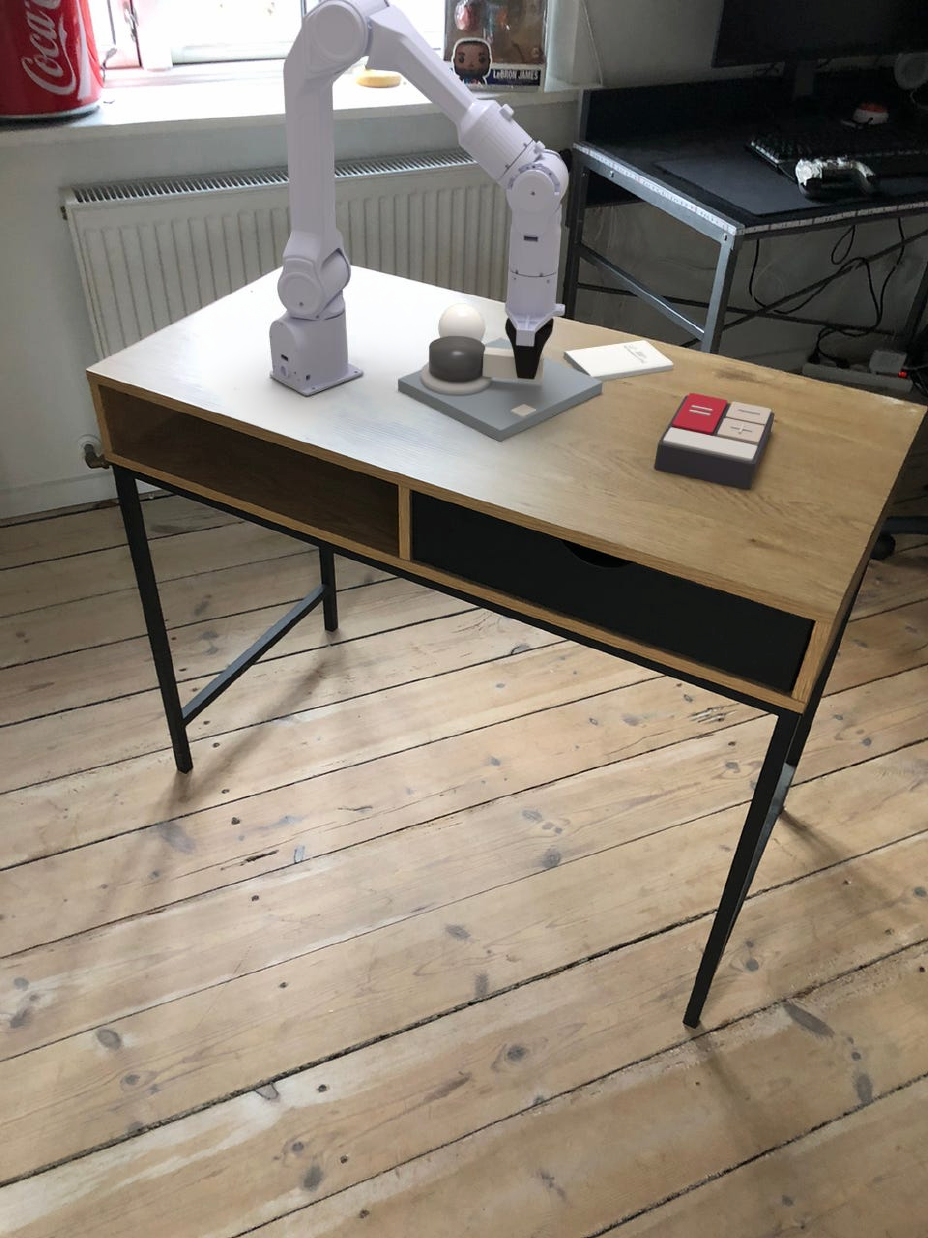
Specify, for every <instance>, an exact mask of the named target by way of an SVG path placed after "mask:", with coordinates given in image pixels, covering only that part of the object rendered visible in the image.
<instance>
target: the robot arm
mask: <svg viewBox="0 0 928 1238" xmlns="http://www.w3.org/2000/svg"><path fill="white" fill-rule="evenodd" d="M365 57H368V58H367V60H366V64H365V69H366V70H373V71H385V72H395V73H398V74H400V75H401V76H402V77H404V78H405V79H406V80H407V81H408V82H409V83H410V84H411V85H412V86H413V87H414V88H415V89H417V90H418V91H419V92H420V93H421V94H422V95H423V96H424V97H425V98H426V99H427V100H428V101H430V102H431V104H433V105H434V106H435V107H436V108H437V109H439V110H440V111H441V112H442V113H443V114H444V115H445V116H446V117H447V118H448V119H450V121H451V122H452V123H454V124H455V126H456V131H457V141H458V145H460V146H461V148H462V149H463V150H464V151H465V152H466V153H467V154H469V156H470V157H471V158H472V159H473V160H474V161H475V162H476V163H477V164H478V165H479V166H480V167H481V168H482V169H483V170H484V171H485V172H486V173H487V174H488V175H489V176H490V177H491V179H493V180H494V181H495V182H496V183H497V184H498V185H499V186H500V187H502V188H504V189H505V195H506V200H507V204H508V206H509V208H510V209H511V211H512V214H511V215H512V216H511V226H510V231H509V232H510V233H509V234H510V235H509V237H510V238H509V251H508V252H509V253H508V270H507V271H508V273H507V288H506V289H507V290H506V301H505V303H504V313H505V314H506V316H507V318H506V320H505V325H504V330H505V333H506V336H507V338H508V341H510V342H511V345H512V348H513V352H514V359H515V367H516V374H517V378H520V379H533V380H534V378H535V376H536V373H537V369H538V365H539V360H540V356H541V353H543V350H544V347H545V345H546V344H547V342H548V340H549V339H550V337H551V335H552V333H553V329H554V321H555V319H554V318H555V317H562V316H564V315H565V311H566V309H565V308H566V305H565V304H562V303H556V298H557V288H558V287H557V285H558V276H559V275H558V273H559V263H560V262H559V261H560V251H561V250H560V249H561V240H562V239H561V237H562V227H561V223H562V218H563V217H562V207H563V204H562V203H561V200H562V199H563V197H564V196H565V194H566V192H567V189H568V186H569V172H568V168H567V165H566V164H565V162H564V161H563V160H562V157H561V155H560V154H559V153H558V152H557V151H555V150H551V149H549V148H548V149H546V145H544V143H543V142H541V141H540V140H538V141H537V142H536V140H534V139H533V138H532V137H531V136H530V135H529V134H528V133H527V131H525V130H524V129H523V128H522V127H521V126H520V125H519V123H518V122H516V121H515V120H514V118H513V115H514V114H515V111H514V110H513V109H512V108H511V107H510V106H509V104H507V103H505V104H504V105H502V106H501V105H500V104H499V103H498V102H497V101H496V100H495V99H487V100H486V99H479V98H477V97H476V96H475V95H474V94H473V92H472V91H471V90H470V89H469V88H468V87H467V86H466V85H465V84H464V83H463V81H462V80H461V79H460V78H459V76H458V75H457V74H456V73H455V72H454V71H453V70H452V69H451V68H450V67H449V65H448V64H447V63H446V62H445V61H444V59H443V58H442V57H441V56H440V55H439V54H438V53H437V51H436V50H434V48H433V47H432V46H431V45H430V44H429V43H428V42H427V40H426V39H425V38H424V37H423V36H422V35H421V34H420V32H419V31H418V30H417V29H416V28H415V26H414V25H413V24H412V22H411V21H410V19H409V18H408V17H407V15H406V13H405V12H404V11H403V10H402V9H400V8H399V7H397V5H395V4H392V5H391V3H390V1H389V0H321V1H320V2H319V3H317V4H316V5H314V7H312V8H311V9H310V10H309V11H308V12H306V13H305V14H304V15H303V16H302V18H301V27H300V30H299V32H298V33H297V36H296V37H295V40H294V41H293V44H292V45H291V47H290V50H289V52H288V53H287V56H286V58H285V59H284V62H283V69H282V75H283V92H284V115H285V132H286V149H287V152H286V153H287V154H286V155H287V168H288V169H287V171H288V186H289V187H288V189H289V209H290V228H291V229H290V230H291V231H290V235H289V237H288V240H287V243H286V244H285V245H286V246H285V248H284V251H283V255H282V262H283V263H282V270H281V273H280V275H279V278H278V281H277V286H276V288H277V296H278V298H279V300H280V302H281V304H282V306H283V307H284V308H285V309H286V311H285V313H283V314H282V315H281V316H280V317H279V318H277V319H275V320H273V321H272V322H271V323H270V326H269V330H268V332H269V333H268V335H269V337H268V338H269V347H270V355H271V357H270V358H271V366H272V370H271V371H270V372H269V377H271V378H273V379H275V380H277V381H278V382H280V383H282V384H284V385H286V386H287V387H289V388H291V389H293V390H295V391H296V392H297V393H300V394H302V395H304V396H310V395H313V394H316V393H318V392H321V391H324V390H327V389H329V388H331V387H334V386H337V385H339V384H341V383H344V382H347V381H350V380H353V379H354V378H358V377H360V376H363V374H364V372H363V370H362V369H361V368H359V367H357V366H355V365H353V364H351V363H349V354H348V330H347V309H346V304H347V303H346V300H345V298H344V289H345V288H346V287H347V286H348V285H349V282H350V281H351V276H352V268H351V267H352V266H351V263H350V261H349V258H348V257H347V254H346V252H345V248H344V236H343V235H342V233H341V232H340V230H339V229H338V228H337V224H336V223H337V221H336V220H337V219H336V216H337V215H336V213H337V212H336V184H335V183H336V182H335V177H336V176H335V171H336V169H335V143H334V142H335V138H334V132H335V131H334V100H333V99H334V98H333V97H334V94H333V92H334V90H333V89H334V88H333V86H334V84H335V82H336V81H337V80H338V79H340V77H341V76H342V75H343V74H345V72H347V71H348V69H350V68H351V67H352V66H353V65H355V64H357V63H358V62H359V61H360V60H361V59H362V58H365Z"/></svg>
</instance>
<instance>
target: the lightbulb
mask: <svg viewBox="0 0 928 1238" xmlns="http://www.w3.org/2000/svg"><path fill="white" fill-rule="evenodd" d="M438 321H439V322H438V328H437V329H438V336H439V338H441V337H446V336H465V337H470V338H474V339H476V340H478V341H480V342H482V341H483V339H484V336H485V334H486V333H485V332H486V323H485V319H484V316H483V314H482V313H481V312H480V310H478V309H477V308H476V307H474V306H473V305H471V304H468V303H455V304H453V305H450V306H449V307H447V308H446V309H445V310H444V311H443V313H442V314H441V316H440V318H439V320H438Z"/></svg>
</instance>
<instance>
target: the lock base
mask: <svg viewBox="0 0 928 1238" xmlns="http://www.w3.org/2000/svg"><path fill="white" fill-rule="evenodd" d="M483 344H484V346H485V349H486V347H491V348H500V349H510V350H513V348H512V345H511V342H510V340H507V339H504V338H502V337H499V338H497V339H494V340H492V341H489V342H487V343H483ZM421 367H422V368H421V369H419V370H417V371H415V372H412V373H410V374H407V375H405V376H402V377H399V378H397V391H399V392H401V393H403V394H405V395H407V396H409V397H411V398H414V399H415V400H417V401H419V402H421V403H423V404H424V405H427V406H429V407H430V408H433V409H435V410H437V411H439V412H441V413H442V414H444V415H447V416H449V417H450V418H452V419H454V420H457V421H458V422H460V423H462V424H464V425H465V426H468V427H470V428H472V429H474V430H475V431H479V433H482V434H485V435H486V436H488V437H489V438H492V439H493V440H496V441H497V442H500V443H501V442H503V441H505V440H506V439H509V438H511V437H513V436H516V435H518V434H519V433H521V432H523V431H525V430H527V429H529V428H531V427H533V426H536V425H537V424H540V423H542V422H544V421H546V420H548V419H550V418H552V417H555V416H556V415H558V414H560V413H563V412H565V411H567V410H569V409H571V408H573V407H575V406H577V405H578V404H581V403H584V402H585V401H588V400H589V399H592V398H594V397H596V396H597V395H600V394H602V392H603V385H604V384H603V383H604V381H600V380H598V379H595V378H593V377H591V376H588V375H586V374H584V373H581V372H579V371H577V370H576V369H575V368H573V367H570V366H567V365H565V364H563V363H560V362H558V361H556V360H553V359H551V358H549V357H546V356H545V368H544V377H543V381H542V383H541V382H532V381H523V380H513V379H504V378H495V377H485V376H483V375H482V376H481V377H479V378H478V379H475V380H472V381H468V382H448V381H443V380H440V379H438V378H435V377H434V376H433V375H431V374H430V372H429V361H428V362H426V363H425V364H424V365H423V366H421Z"/></svg>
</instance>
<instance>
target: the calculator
mask: <svg viewBox="0 0 928 1238" xmlns="http://www.w3.org/2000/svg"><path fill="white" fill-rule="evenodd" d="M775 414H776V413H775V412H774V411H772V409H771V408H768V407H765V406H759V405H754V404H749V403H745V402H744V403H743V402H738V401H732V402H731V403H729V402H728V400H727V399H724V398H720V397H719V398H718V397H713V396H710V395H709V396H708V395H704V394H699V393H693V392H690V393H689V394H687V395H685V396H684V398H683V400H682V401H681V403H680V404H679V406H678V408H677V410H676V412H675V413H674V415H673V417H672V418H671V420H670V422H669V424H668V425H667V427H666V428H665V431H664V432H663V434H662V436H661V437H660V439H659V441H658V444H657V448H656V454H655V459H654V464H653V465H654V466H653V470H655V471H659V472H663V473H668V474H672V475H676V476H680V477H685V478H690V479H694V480H698V481H702V482H707V483H712V484H716V485H721V486H724V487H730V488H735V489H738V490H743V491H749V490H751V486H752V483H753V481H754V478H755V476H756V473H757V469H758V466H759V464H760V461H761V459H762V456H763V454H764V451H765V449H766V446H767V443H768V441H769V437H770V435H771V431H772V428H773V422H774V419H775Z"/></svg>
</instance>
